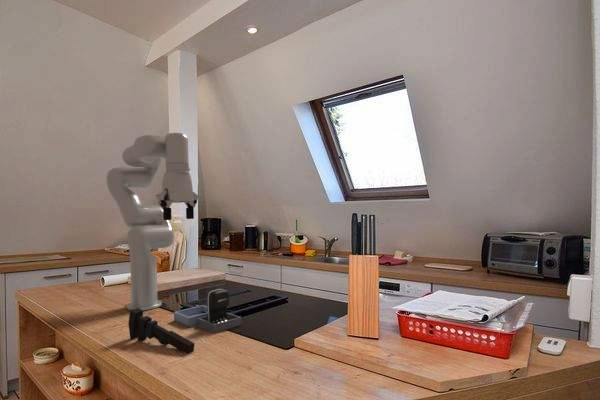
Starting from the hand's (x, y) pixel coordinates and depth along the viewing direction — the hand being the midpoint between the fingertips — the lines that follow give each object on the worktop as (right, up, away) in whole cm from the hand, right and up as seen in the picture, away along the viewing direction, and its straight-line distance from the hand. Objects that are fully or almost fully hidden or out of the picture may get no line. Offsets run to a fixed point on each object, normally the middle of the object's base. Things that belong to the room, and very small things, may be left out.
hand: (179, 219), depth 126 cm
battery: (+15, -34, -6) cm, 38 cm away
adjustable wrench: (+2, -35, -22) cm, 41 cm away
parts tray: (+6, -34, 0) cm, 35 cm away
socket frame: (+15, -34, -6) cm, 38 cm away
